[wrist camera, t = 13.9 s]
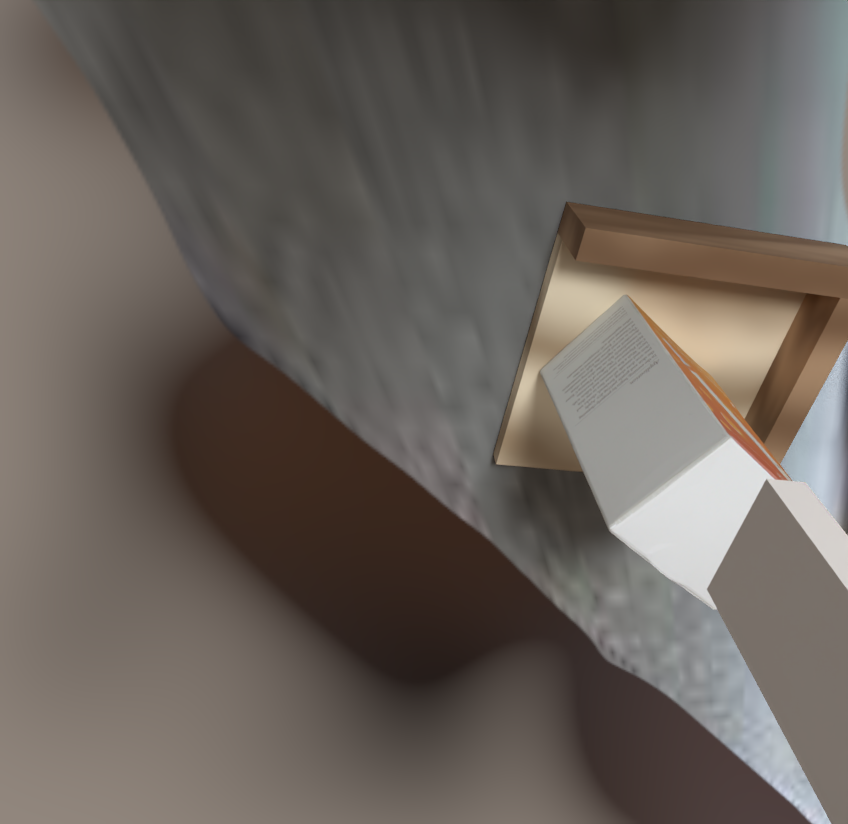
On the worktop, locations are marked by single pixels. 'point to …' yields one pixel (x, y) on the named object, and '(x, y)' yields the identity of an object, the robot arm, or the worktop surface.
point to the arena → (687, 318)
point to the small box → (658, 444)
